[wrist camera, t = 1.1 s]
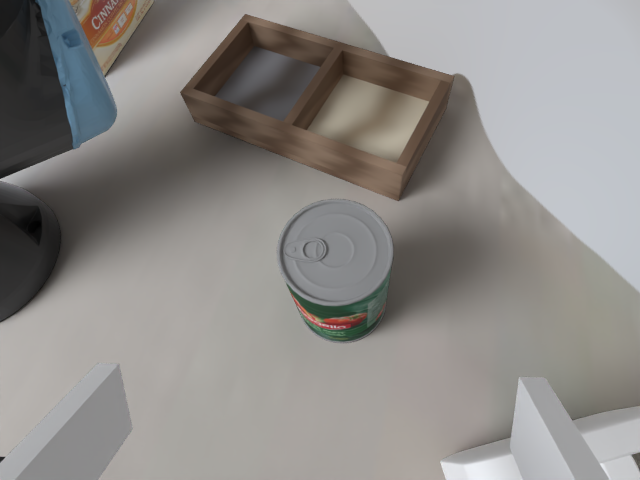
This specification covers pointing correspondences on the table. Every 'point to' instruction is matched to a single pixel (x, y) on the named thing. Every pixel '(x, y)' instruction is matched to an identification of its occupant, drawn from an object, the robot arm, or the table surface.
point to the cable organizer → (597, 430)
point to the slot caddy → (320, 103)
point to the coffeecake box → (109, 25)
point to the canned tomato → (337, 268)
